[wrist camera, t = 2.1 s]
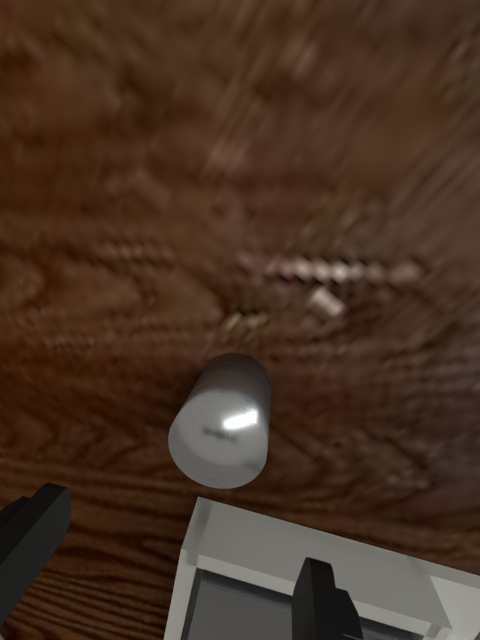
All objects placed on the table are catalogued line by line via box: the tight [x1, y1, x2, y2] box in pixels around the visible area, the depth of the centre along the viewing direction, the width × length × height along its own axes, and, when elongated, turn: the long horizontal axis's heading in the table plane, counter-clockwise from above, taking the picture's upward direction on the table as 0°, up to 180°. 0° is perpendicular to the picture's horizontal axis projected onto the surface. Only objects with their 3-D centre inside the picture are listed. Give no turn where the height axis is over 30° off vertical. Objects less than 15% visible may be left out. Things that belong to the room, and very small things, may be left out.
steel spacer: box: [168, 353, 272, 489], centre depth 17 cm, size 5×5×6 cm
